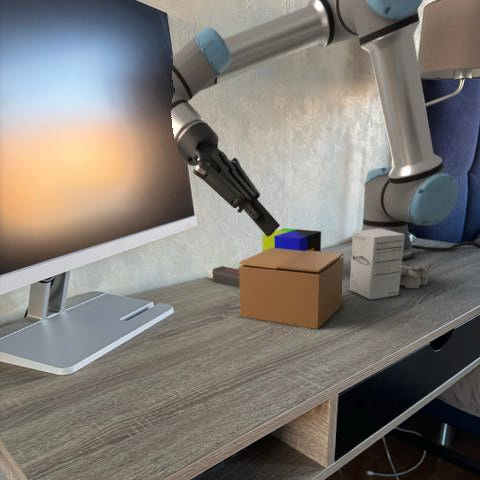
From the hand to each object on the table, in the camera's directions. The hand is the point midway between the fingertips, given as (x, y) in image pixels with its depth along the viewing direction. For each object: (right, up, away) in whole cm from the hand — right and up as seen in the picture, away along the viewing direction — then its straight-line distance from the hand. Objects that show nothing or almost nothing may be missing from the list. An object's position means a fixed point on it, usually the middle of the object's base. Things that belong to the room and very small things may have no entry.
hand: (273, 231), depth 80 cm
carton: (+4, -14, +4) cm, 15 cm away
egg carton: (+30, -8, +18) cm, 36 cm away
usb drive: (-8, -7, +24) cm, 27 cm away
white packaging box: (+22, -11, +12) cm, 27 cm away
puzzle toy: (+7, -5, +28) cm, 29 cm away
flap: (0, -5, +2) cm, 5 cm away
